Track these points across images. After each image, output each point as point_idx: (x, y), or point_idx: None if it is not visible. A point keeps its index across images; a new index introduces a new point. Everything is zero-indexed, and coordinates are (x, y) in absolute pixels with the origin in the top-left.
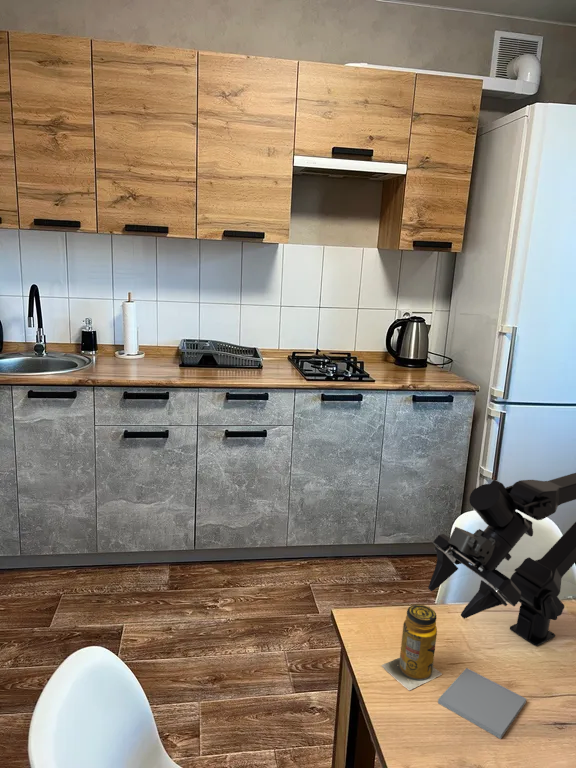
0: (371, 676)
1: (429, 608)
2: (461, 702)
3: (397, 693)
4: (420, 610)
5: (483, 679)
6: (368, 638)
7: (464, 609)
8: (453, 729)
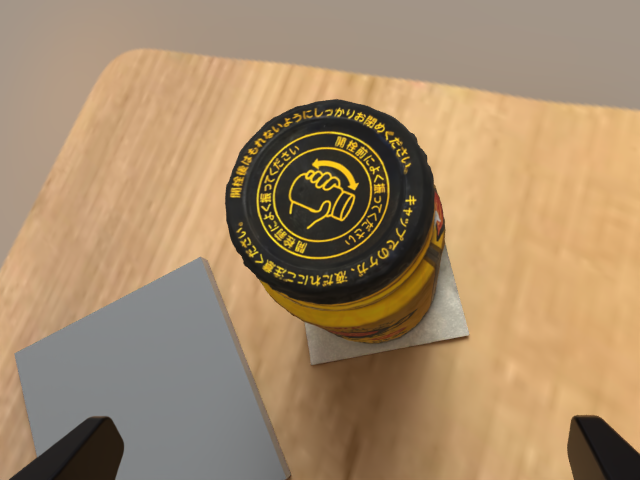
0: None
1: (344, 272)
2: (158, 323)
3: None
4: (349, 195)
5: None
6: (606, 194)
7: (62, 456)
8: (113, 243)
